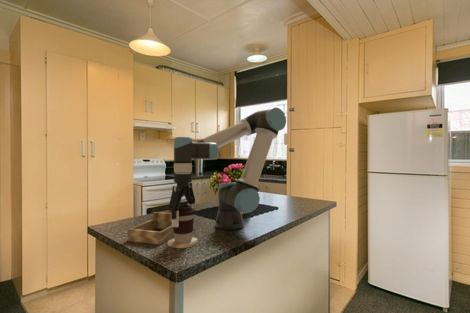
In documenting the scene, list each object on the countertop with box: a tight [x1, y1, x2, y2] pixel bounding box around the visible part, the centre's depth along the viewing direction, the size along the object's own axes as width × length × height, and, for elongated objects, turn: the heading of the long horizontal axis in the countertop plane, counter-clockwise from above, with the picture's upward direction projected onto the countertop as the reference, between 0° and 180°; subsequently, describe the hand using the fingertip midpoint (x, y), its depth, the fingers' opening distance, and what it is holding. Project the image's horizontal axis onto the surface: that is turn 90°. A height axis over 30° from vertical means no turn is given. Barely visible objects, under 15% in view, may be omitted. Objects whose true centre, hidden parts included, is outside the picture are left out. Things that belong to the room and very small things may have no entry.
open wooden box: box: [127, 211, 174, 245], centre depth 121 cm, size 16×21×8 cm
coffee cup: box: [171, 204, 196, 244], centre depth 111 cm, size 10×10×15 cm
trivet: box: [166, 236, 199, 249], centre depth 111 cm, size 13×13×1 cm
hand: (182, 222), depth 110 cm, fingers open, 13 cm apart
